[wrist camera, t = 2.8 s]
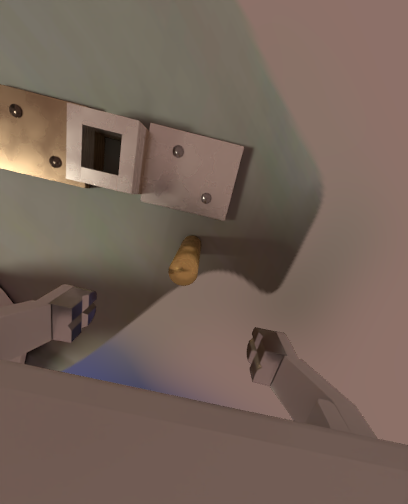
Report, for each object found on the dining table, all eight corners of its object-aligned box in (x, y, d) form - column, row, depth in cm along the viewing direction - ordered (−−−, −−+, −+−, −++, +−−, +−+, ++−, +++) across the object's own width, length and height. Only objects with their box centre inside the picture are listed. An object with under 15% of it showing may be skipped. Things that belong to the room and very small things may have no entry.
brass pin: (198, 255, 25) (194, 288, 16) (180, 251, 25) (166, 282, 16) (203, 237, 24) (200, 262, 15) (184, 233, 24) (171, 255, 15)
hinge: (242, 148, 21) (250, 138, 17) (224, 219, 23) (227, 224, 19) (-3, 86, 20) (-53, 60, 16) (4, 167, 22) (-39, 162, 18)
